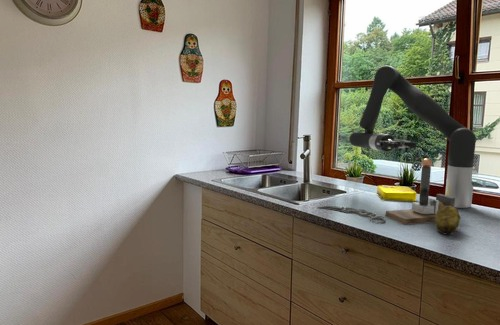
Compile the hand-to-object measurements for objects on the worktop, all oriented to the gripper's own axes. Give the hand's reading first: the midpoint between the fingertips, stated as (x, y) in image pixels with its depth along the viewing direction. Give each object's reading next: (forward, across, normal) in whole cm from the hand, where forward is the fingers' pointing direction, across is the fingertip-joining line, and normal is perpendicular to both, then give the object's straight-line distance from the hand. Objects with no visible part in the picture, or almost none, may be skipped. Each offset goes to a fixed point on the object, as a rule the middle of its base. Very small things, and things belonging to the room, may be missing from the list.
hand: (406, 145), depth 144 cm
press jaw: (+12, 0, +24) cm, 27 cm away
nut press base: (+12, -1, +26) cm, 29 cm away
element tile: (-21, +13, +27) cm, 36 cm away
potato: (+26, -4, +27) cm, 38 cm away
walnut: (+12, +6, +24) cm, 28 cm away
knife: (+1, -23, +27) cm, 36 cm away
